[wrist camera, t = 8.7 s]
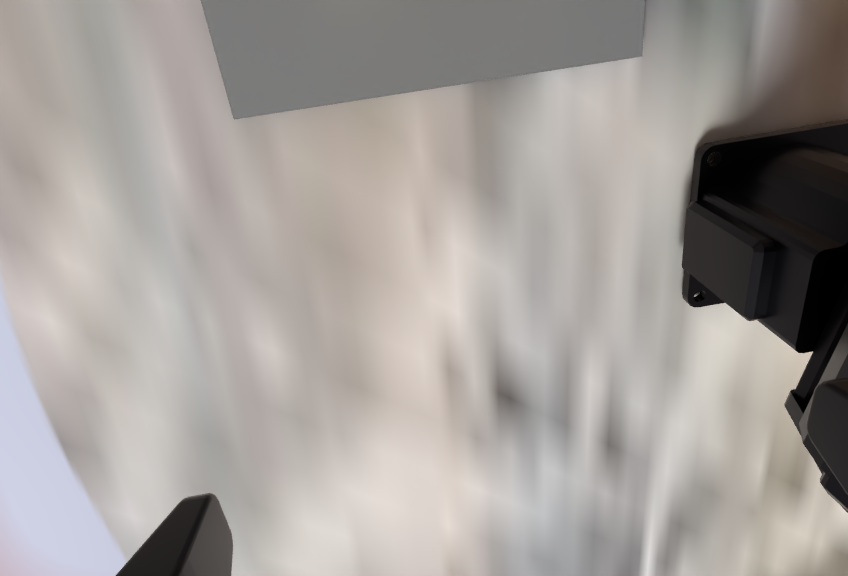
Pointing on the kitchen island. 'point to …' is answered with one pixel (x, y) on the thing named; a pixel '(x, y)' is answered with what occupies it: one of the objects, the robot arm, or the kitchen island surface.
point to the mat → (404, 45)
